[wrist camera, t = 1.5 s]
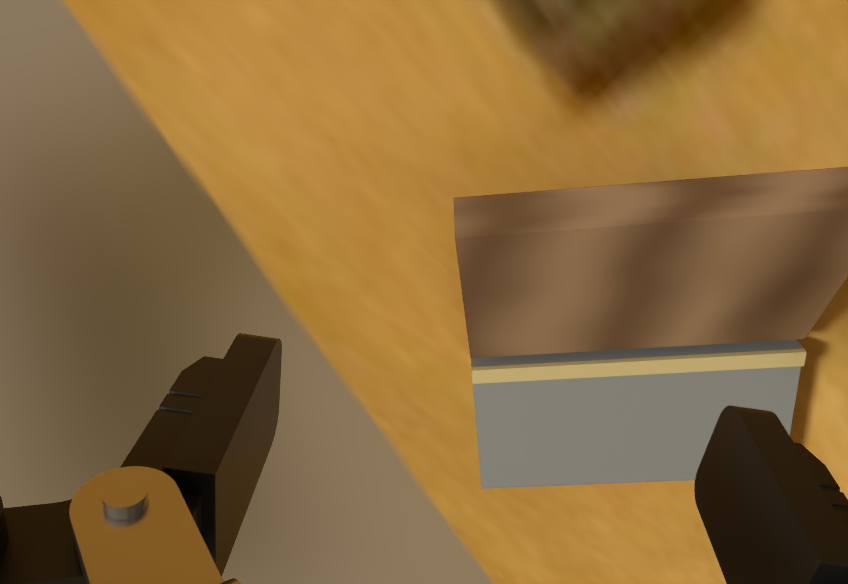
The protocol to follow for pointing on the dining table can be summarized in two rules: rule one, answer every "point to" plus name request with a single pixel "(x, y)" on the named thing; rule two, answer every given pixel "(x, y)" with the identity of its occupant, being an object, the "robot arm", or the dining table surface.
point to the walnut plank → (652, 263)
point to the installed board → (620, 409)
